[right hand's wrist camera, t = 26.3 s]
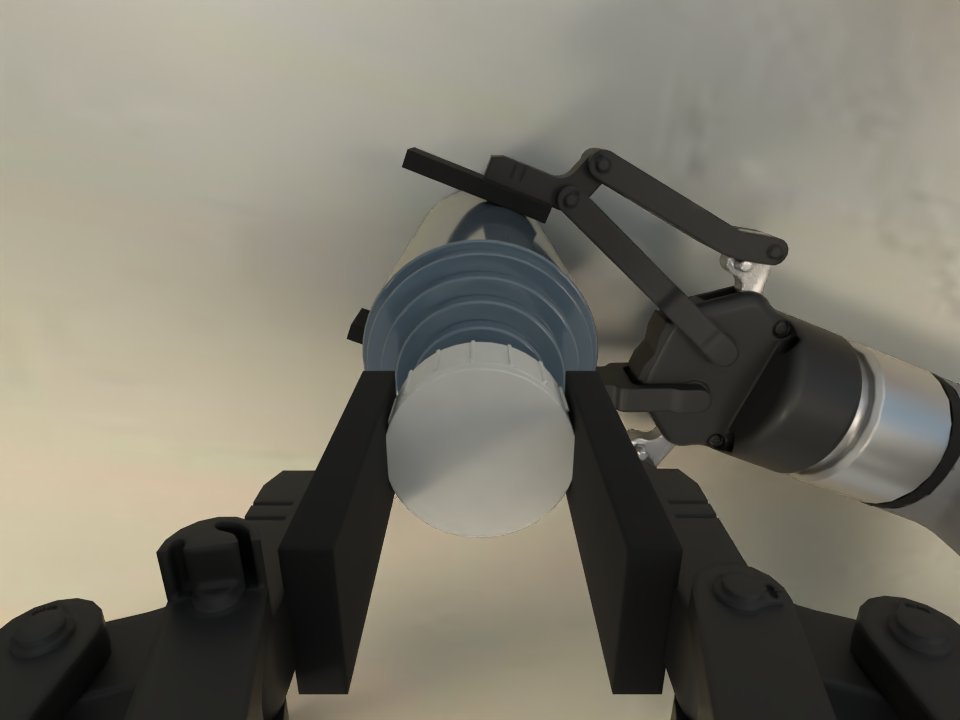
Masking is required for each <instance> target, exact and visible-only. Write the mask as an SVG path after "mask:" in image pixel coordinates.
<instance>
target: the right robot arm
mask: <svg viewBox="0 0 960 720" xmlns="http://www.w3.org/2000/svg"><path fill="white" fill-rule="evenodd" d="M395 398H396V382H395V371H363V372H362V375H361V377H360V379H359V381H358V383H357V385H356V387H355V389H354V391H353V393H352V395H351V398H350V400H349V402H348V404H347V406H346V408H345V410H344V412H343V414H342V416H341V418H340V420H339V423H338V425H337V427H336V429H335V431H334V433H333V435H332V437H331V439H330V441H329V443H328V445H327V448H326V450H325V452H324V454H323V456H322V458H321V460H320V462H319V464H318V466H317V468H316V470H315V471H282V472H281V473H279V474H278V475H277V476H275V477H274V478H273V479H271V480H270V481H269V482H267V483H266V484H265V485H264V486H263V487H262V489H261V491H260V492H259V494H258V495H257V497H256V499H255V500H254V502H253V506H251V507H250V509H249V510H248V512H247V514H246V515H245V519H242V518H238V517H216V518H212V519H207V520H203V521H199V522H196V523H194V524H192V525H189V526H187V527H185V528H182V529H180V530H179V531H177V532H176V533H175V534H173V535H172V536H170V537H169V538H168V539H166V540H165V541H164V543H163V544H162V545H161V547H160V548H159V549H158V551H157V552H156V553H157V558H158V562H159V566H160V570H161V575H162V579H163V583H164V587H165V592H166V596H167V600H168V602H167V605H166V607H164V608H160V609H157V610H154V611H150V612H147V613H143V614H138V615H134V616H130V617H125V618H121V619H117V620H112V621H108V622H105V619H104V616H103V613H102V609H101V608H100V607H98V606H97V605H96V604H95V603H94V602H93V601H89V600H84V599H79V598H74V599H65V600H57V601H54V602H51V603H47V604H44V605H41V606H38V607H35V608H33V609H31V610H29V611H27V612H25V613H24V614H22V615H20V616H18V617H16V618H14V619H12V620H11V621H10V622H8V623H7V624H6V625H5V626H3V627H2V628H1V629H0V720H289V716H288V709H287V702H286V695H287V692H288V689H289V686H290V683H291V680H292V677H293V674H294V671H296V678H297V685H298V691H299V694H348V692H349V688H350V683H351V679H352V675H353V670H354V666H355V662H356V657H357V653H358V649H359V645H360V640H361V636H362V632H363V627H364V623H365V619H366V614H367V610H368V606H369V602H370V597H371V593H372V589H373V584H374V580H375V576H376V572H377V567H378V563H379V559H380V554H381V550H382V546H383V541H384V537H385V533H386V529H387V524H388V520H389V516H390V511H391V507H392V503H393V498H394V494H395V491H394V490H393V488H392V486H391V484H390V481H389V477H388V462H387V447H386V433H387V429H388V426H389V424H388V419H389V416H390V413H391V410H392V407H393V403H394V400H395ZM565 398H566V401H567V404H568V407H569V410H570V411H569V412H568V414H569V417H570V420H571V423H572V427H573V430H574V433H575V442H574V458H573V474H572V481H571V483H570V485H569V487H568V489H567V491H566V496H567V500H568V504H569V508H570V513H571V517H572V521H573V526H574V530H575V534H576V538H577V543H578V547H579V551H580V556H581V560H582V564H583V569H584V573H585V577H586V581H587V586H588V590H589V594H590V599H591V603H592V607H593V611H594V616H595V620H596V624H597V629H598V633H599V637H600V642H601V646H602V650H603V654H604V659H605V663H606V667H607V672H608V676H609V680H610V685H611V689H612V693H613V694H662V689H663V683H664V676H665V669H667V672H668V675H669V678H670V681H671V684H672V687H673V690H674V693H675V696H674V702H673V709H672V715H671V720H960V625H959V624H958V623H957V622H955V621H954V620H953V619H951V618H950V617H949V616H947V615H945V614H943V613H941V612H939V611H937V610H935V609H933V608H931V607H930V606H928V605H925V604H922V603H919V602H916V601H912V600H909V599H906V598H900V597H891V596H881V597H876V598H871V599H868V600H867V601H866V602H865V603H864V604H863V605H862V606H860V609H859V612H858V616H857V619H856V620H855V619H850V618H846V617H842V616H837V615H833V614H829V613H824V612H820V611H816V610H812V609H809V608H805V607H802V606H799V605H796V604H794V603H793V601H792V600H791V598H790V596H789V595H788V593H787V592H786V590H785V589H784V587H783V586H781V585H780V584H779V583H778V582H776V581H775V580H774V579H773V578H772V577H770V576H769V575H767V574H765V573H763V572H761V571H759V570H757V569H754V568H752V567H749V566H747V564H746V562H745V561H744V559H743V557H742V556H741V554H740V553H739V551H738V549H737V548H736V546H735V544H734V543H733V541H732V539H731V538H730V536H729V535H728V533H727V531H726V530H725V528H724V526H723V525H722V523H721V521H720V520H719V518H716V513H715V512H714V510H713V508H712V507H711V505H710V504H708V500H707V498H706V497H705V495H704V493H703V492H702V490H701V489H700V487H699V485H698V484H697V483H696V482H695V481H693V480H692V479H691V478H689V477H688V476H687V475H685V474H684V473H683V472H681V471H680V470H679V469H644V467H643V465H642V463H641V461H640V458H639V456H638V454H637V452H636V450H635V448H634V446H633V444H632V442H631V440H630V438H629V436H628V433H627V431H626V429H625V427H624V425H623V423H622V421H621V419H620V417H619V415H618V413H617V411H616V408H615V406H614V404H613V402H612V400H611V398H610V396H609V394H608V392H607V390H606V388H605V386H604V383H603V381H602V379H601V377H600V375H599V373H598V371H566V377H565Z"/></svg>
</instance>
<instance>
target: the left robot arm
mask: <svg viewBox="0 0 960 720" xmlns="http://www.w3.org/2000/svg"><path fill="white" fill-rule="evenodd" d="M402 167H403V168H406V169H408V170H411V171H413V172H416V173H418V174H421V175H423V176H426V177H428V178H431V179H433V180H436V181H438V182H441V183H444V184H446V185H449V186H451V187H454V188H456V189H459V190H461V191H464V192H466V193H469V194H471V195H474V196H476V197H479V198H481V199H484V200H486V201H489V202H492V203H494V204H497V205H499V206H502V207H504V208H507V209H509V210H512V211H514V212H517V213H519V214H522V215H524V216H527V217H529V218H532V219H534V220H537V221H539V222H542V223H546V220H547V218H548V215H549V213H550V211H551V208H552V207H553V208H556V209H558V210H561V211H562V212H563V213H564V214H565V215H566V216H567V217H568V218H569V219H570V220H571V221H572V222H573V223H574V224H575V225H576V226H577V227H578V228H579V229H580V230H581V231H582V232H583V233H584V234H585V235H586V236H587V237H588V238H589V239H590V240H591V241H592V242H593V243H594V244H595V245H596V246H597V247H598V248H599V249H600V250H601V251H602V252H603V253H604V254H605V255H606V256H607V257H608V258H609V259H610V260H611V261H612V262H613V263H614V264H615V265H616V266H617V267H619V268H620V269H621V270H622V271H623V272H624V273H625V274H626V275H627V276H628V277H629V278H630V279H631V280H632V281H633V282H634V283H635V284H636V285H637V286H638V287H639V288H640V289H641V290H642V291H643V292H644V293H645V294H646V295H647V296H648V297H649V298H650V299H651V300H652V301H653V302H654V303H655V304H656V305H657V306H658V307H659V308H660V311H657V310H655V311H654V313H653V315H652V317H651V319H650V321H649V323H648V326H647V331H646V336H645V339H644V340H643V341H642V343H641V344H640V345H639V346H638V347H637V348H636V349H635V351H634V352H633V354H632V356H631V358H630V360H629V362H628V363H610V364H608V365H606V366H602V367H596V371H598V373H599V375H600V377H601V379H602V381H603V383H604V386H605V388H606V390H607V392H608V394H609V396H610V398H611V400H612V402H613V404H614V406H615V408H616V409H617V410H619V411H623V412H648V413H649V414H650V416H651V418H652V419H653V421H654V422H655V424H656V426H657V427H656V428H655V429H653V430H652V431H649V432H642V431H638V430H634V429H629V430H628V431H627V433H628V436H629V438H630V440H631V442H632V444H633V446H634V448H635V450H636V452H637V454H638V456H639V458H640V461H641V463H642V465H643V467H644V469H657V468H656V467H657V465H658V464H659V463H660V462H661V461H662V460H663V459H664V457H665V456H666V455H667V454H668V453H669V452H670V450H671V449H672V448H673V447H674V446H675V445H679V446H687V445H705V446H708V447H710V448H713V449H715V450H717V451H720V452H722V453H725V454H728V455H730V456H733V457H736V458H739V459H742V460H744V461H747V462H750V463H753V464H756V465H758V466H761V467H764V468H767V469H770V470H772V471H775V472H779V473H786V474H788V475H789V476H791V477H793V478H794V479H796V480H799V481H802V482H805V483H808V484H811V485H814V486H817V487H820V488H823V489H826V490H829V491H832V492H835V493H838V494H841V495H843V496H846V497H849V498H852V499H855V500H858V501H860V502H862V503H865V504H868V505H871V506H875V507H878V508H880V509H883V510H886V511H888V512H891V513H893V514H896V515H899V516H901V517H904V518H907V519H909V520H912V521H915V522H917V523H919V524H920V525H922V526H924V527H926V528H928V529H929V530H931V531H932V532H933V533H935V534H936V535H937V536H938V537H939V538H940V539H942V540H943V541H944V542H945V543H946V544H947V545H948V546H949V547H951V548H952V549H953V550H954V551H955V552H956V553H957V554H958V555H959V556H960V384H957V383H954V382H952V381H949V380H946V379H944V378H941V377H939V376H937V375H936V374H933V373H931V372H929V371H926V370H924V369H921V368H919V367H916V366H914V365H911V364H909V363H907V362H904V361H902V360H899V359H897V358H894V357H892V356H889V355H887V354H884V353H882V352H879V351H877V350H874V349H872V348H869V347H867V346H865V345H862V344H859V343H856V342H854V341H847V340H846V339H844V338H843V337H842V336H840V335H837V334H835V333H832V332H830V331H827V330H825V329H822V328H820V327H817V326H815V325H812V324H810V323H807V322H805V321H802V320H800V319H797V318H795V317H792V316H790V315H787V314H785V313H782V312H779V311H777V310H775V309H774V308H773V307H772V306H771V305H770V304H769V302H768V300H767V299H766V298H765V297H764V296H763V295H762V292H763V289H764V286H765V283H766V280H767V277H768V274H769V271H770V268H771V265H777V264H779V263H781V262H782V261H783V260H784V259H785V258H786V256H787V254H788V246H787V243H786V242H785V241H784V240H782V239H779V238H776V237H774V236H771V235H769V234H766V233H763V232H760V231H757V230H754V229H748V228H742V227H736V226H731V225H730V224H728V223H726V222H725V221H723V220H721V219H720V218H718V217H717V216H715V215H713V214H712V213H710V212H708V211H707V210H705V209H704V208H702V207H700V206H699V205H697V204H695V203H694V202H692V201H691V200H689V199H687V198H686V197H684V196H682V195H681V194H679V193H678V192H676V191H674V190H673V189H671V188H669V187H668V186H666V185H665V184H663V183H661V182H660V181H658V180H656V179H655V178H653V177H652V176H650V175H648V174H647V173H645V172H643V171H642V170H640V169H639V168H637V167H635V166H634V165H632V164H630V163H629V162H627V161H626V160H624V159H622V158H621V157H619V156H617V155H616V154H614V153H613V152H611V151H608V150H605V149H599V148H590V149H588V150H586V151H585V152H584V153H583V154H582V156H581V159H580V160H579V161H578V162H577V163H576V164H575V165H574V167H573V168H572V169H571V170H570V171H569V172H568V173H566V174H564V175H560V176H554V175H551V174H548V173H546V172H543V171H541V170H539V169H536V168H534V167H531V166H529V165H526V164H524V163H521V162H519V161H516V160H514V159H512V158H509V157H507V156H504V155H491V157H490V160H489V163H488V165H487V168H486V171H485V173H484V175H482V174H480V173H477V172H475V171H472V170H470V169H467V168H465V167H462V166H460V165H457V164H455V163H452V162H450V161H447V160H445V159H442V158H440V157H437V156H435V155H432V154H430V153H427V152H425V151H422V150H420V149H417V148H415V147H414V148H410V149H408V150H407V153H406V156H405V159H404V162H403V165H402ZM601 184H604V185H605V186H607V187H609V188H610V189H612V190H614V191H615V192H617V193H619V194H620V195H622V196H624V197H625V198H627V199H629V200H630V201H632V202H634V203H635V204H637V205H639V206H640V207H642V208H644V209H645V210H647V211H648V212H650V213H652V214H653V215H655V216H657V217H658V218H660V219H662V220H663V221H665V222H667V223H668V224H670V225H672V226H673V227H675V228H677V229H678V230H680V231H682V232H683V233H685V234H687V235H688V236H690V237H692V238H693V239H695V240H697V241H698V242H700V243H702V244H704V245H706V246H708V247H710V248H712V249H714V250H716V251H718V252H720V253H721V256H720V265H721V267H722V268H723V269H724V270H726V271H728V272H730V273H731V274H732V275H733V276H734V279H735V283H734V286H731V287H727V288H723V289H719V290H715V291H711V292H707V293H703V294H699V295H695V296H691V297H687V296H686V295H685V294H684V293H683V292H682V291H681V290H680V289H679V288H678V287H677V286H676V285H675V284H674V283H673V282H672V281H671V280H670V279H669V278H668V277H667V276H666V275H665V274H664V273H663V272H662V271H661V270H660V269H659V268H658V267H657V266H656V265H655V264H654V263H653V262H652V261H651V260H650V259H649V258H648V257H647V256H646V255H645V254H644V253H643V252H642V251H641V250H640V249H639V248H638V247H637V245H636V244H635V243H634V242H633V241H632V240H631V239H630V238H629V237H628V236H627V235H626V234H625V233H624V232H623V231H622V230H621V229H620V228H619V227H618V226H617V225H616V224H615V223H614V222H613V221H612V220H611V219H610V218H609V217H608V216H607V215H606V214H605V213H604V212H603V211H602V210H601V209H600V208H599V207H598V206H597V205H596V204H595V203H594V202H593V201H592V200H591V199H590V198H589V197H590V196H591V195H592V194H593V193H594V192H595V190H596V189H597V188H598V187H599V186H600V185H601ZM369 312H370V311H369V310H367V309H364V308H362V309H361V310H360V312H359V313H358V315H357V316H356V318H355V320H354V321H353V323H352V324H351V327H350V330H349V333H348V336H347V339H349V340H352V341H354V342H357V343H360V344H363V337H364V330H365V325H366V322H367V318H368V315H369Z"/></svg>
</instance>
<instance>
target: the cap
mask: <svg viewBox="0 0 960 720" xmlns="http://www.w3.org/2000/svg"><path fill="white" fill-rule="evenodd" d="M569 411H570V410H569V407H568V404H567V401H566V398H565V394H564V391H563V388H562V387H559V386H558V384H557V382H556V381H555V379H554V378H553V377H552V375H551V374H550V373H549V372H548V371H547V370H546V368H545V367H544V366H543V363H542V362H541V361H539V362H538V361H537V360H535V359H534V358H532V357H531V356H529V355H528V354H526V353H524V352H522V351H520V350H518V349H515V348H513V347H512V346H511V345H509V344H508V346H506V345H503V344H497V343H492V342H475V340H473V341H471V342H470V343H463V344H458V345H454V346H451V347H448V348H445V349H443V350H441V351H440V349H439V350H437V351H436V353H435V354H433V355H431V356H430V357H428V358H427V359H425V360H424V361H423V362H422V363H421V364H419V365H418V366H417V367H416V368H415V369H414V370H413V371H412V370H410V371H409V374H408V377H407V379H406V381H405V382H404V384H403V385H402V387H401V389H400V392H399V394H398V397H397V399H396V398H395V400H394V403H393V407H392V410H391V413H390V416H389V419H388V424H389V426H388V429H387V433H386V447H387V462H388V477H389V481H390V484H391V486H392V488H393V490H394V491H395V493H396V495H397V496H398V498H399V499H400V500H401V502H402V503H403V504H404V505H405V506H406V507H407V508H408V509H409V510H410V511H411V512H412V513H413V514H414V515H415V516H417V517H418V518H420V519H421V520H422V521H424V522H425V523H427V524H429V525H431V526H433V527H435V528H437V529H439V530H442V531H445V532H447V533H451V534H455V535H459V536H466V537H478V538H483V537H495V536H501V535H506V534H510V533H513V532H516V531H519V530H521V529H524V528H526V527H528V526H530V525H532V524H533V523H535V522H537V521H538V520H540V519H541V518H543V517H544V516H545V515H547V514H548V513H549V512H550V511H551V510H552V509H553V508H554V507H555V506H556V505H557V504H558V502H559V501H560V500H561V499H562V497H563V496H564V494H565V493H566V491H567V489H568V487H569V485H570V483H571V481H572V474H573V458H574V442H575V433H574V430H573V427H572V423H571V420H570V417H569V414H568V412H569Z"/></svg>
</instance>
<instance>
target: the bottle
mask: <svg viewBox="0 0 960 720" xmlns="http://www.w3.org/2000/svg"><path fill="white" fill-rule="evenodd" d="M473 340H475V342H492V343H497V344H503V345H506V346H508V344H509V345H511V346H512V347H513V348H515V349H518V350H520V351H522V352H524V353H526V354H528V355H529V356H531V357H532V358H534V359H535V360H537V361H538V362H539V361H541V362H542V363H543V366H544V367H545V368H546V370H547V371H548V372H549V373H550V374H551V375H552V377H553V378H554V379H555V381H556V382H557V384H558V386H559V387H562V388H563V391H564V394H565V377H566V371H596V365H597V359H598V341H597V334H596V328H595V324H594V320H593V317H592V314H591V311H590V309H589V307H588V305H587V302H586V300H585V299H584V297H583V295H582V294H581V292H580V290H579V289H578V287H577V286H576V284H575V282H574V281H573V279H572V277H571V276H570V274H569V273H568V271H567V269H566V268H565V266H564V264H563V263H562V261H561V260H560V258H559V256H558V255H557V253H556V251H555V250H554V248H553V246H552V245H551V243H550V242H549V240H548V238H547V237H546V235H545V233H544V232H543V230H542V229H541V227H540V225H539V224H538V222H537V220H534V219H532V218H529V217H527V216H524V215H522V214H519V213H517V212H514V211H512V210H509V209H507V208H504V207H502V206H499V205H497V204H494V203H492V202H489V201H486V200H484V199H481V198H479V197H476V196H474V195H471V194H469V193H466V192H464V191H460V192H457V193H454V194H452V195H450V196H448V197H446V198H445V199H443V200H442V201H441V202H439V203H438V204H437V205H436V206H435V207H434V208H432V210H431V211H430V212H429V213H428V214H427V216H426V217H425V219H424V221H423V222H422V224H421V225H420V227H419V229H418V230H417V232H416V234H415V235H414V237H413V238H412V240H411V242H410V243H409V245H408V247H407V248H406V250H405V252H404V253H403V255H402V257H401V258H400V260H399V261H398V263H397V265H396V266H395V268H394V270H393V271H392V273H391V275H390V276H389V278H388V279H387V281H386V283H385V284H384V286H383V288H382V289H381V291H380V293H379V294H378V296H377V298H376V299H375V301H374V303H373V306H372V308H371V310H370V312H369V315H368V318H367V322H366V325H365V330H364V337H363V362H364V370H365V371H395V382H396V399H397V397H398V394H399V392H400V389H401V387H402V385H403V384H404V382H405V381H406V379H407V377H408V374H409V371H410V370H412V371H413V370H414V369H415V368H416V367H417V366H418V365H419V364H421V363H422V362H423V361H424V360H425V359H427V358H428V357H430V356H431V355H433V354H435V353H436V351H437V350H439V349H440V351H441V350H443V349H445V348H448V347H451V346H454V345H458V344H463V343H470V342H471V341H473Z"/></svg>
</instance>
